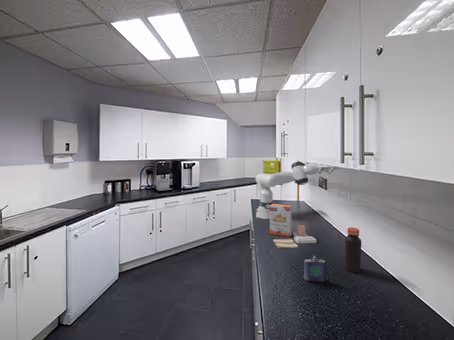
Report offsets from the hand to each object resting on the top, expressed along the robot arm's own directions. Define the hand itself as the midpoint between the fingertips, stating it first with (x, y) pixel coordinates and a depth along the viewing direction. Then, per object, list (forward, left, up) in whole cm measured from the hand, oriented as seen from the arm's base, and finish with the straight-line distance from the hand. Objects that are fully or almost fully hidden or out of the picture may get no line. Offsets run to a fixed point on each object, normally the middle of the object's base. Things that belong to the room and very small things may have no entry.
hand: (323, 173), depth 153 cm
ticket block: (+8, -19, -42) cm, 47 cm away
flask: (+57, -32, -42) cm, 78 cm away
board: (+18, -33, -42) cm, 57 cm away
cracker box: (+1, -31, -42) cm, 53 cm away
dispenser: (+11, -19, -42) cm, 48 cm away
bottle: (+50, -10, -42) cm, 66 cm away
